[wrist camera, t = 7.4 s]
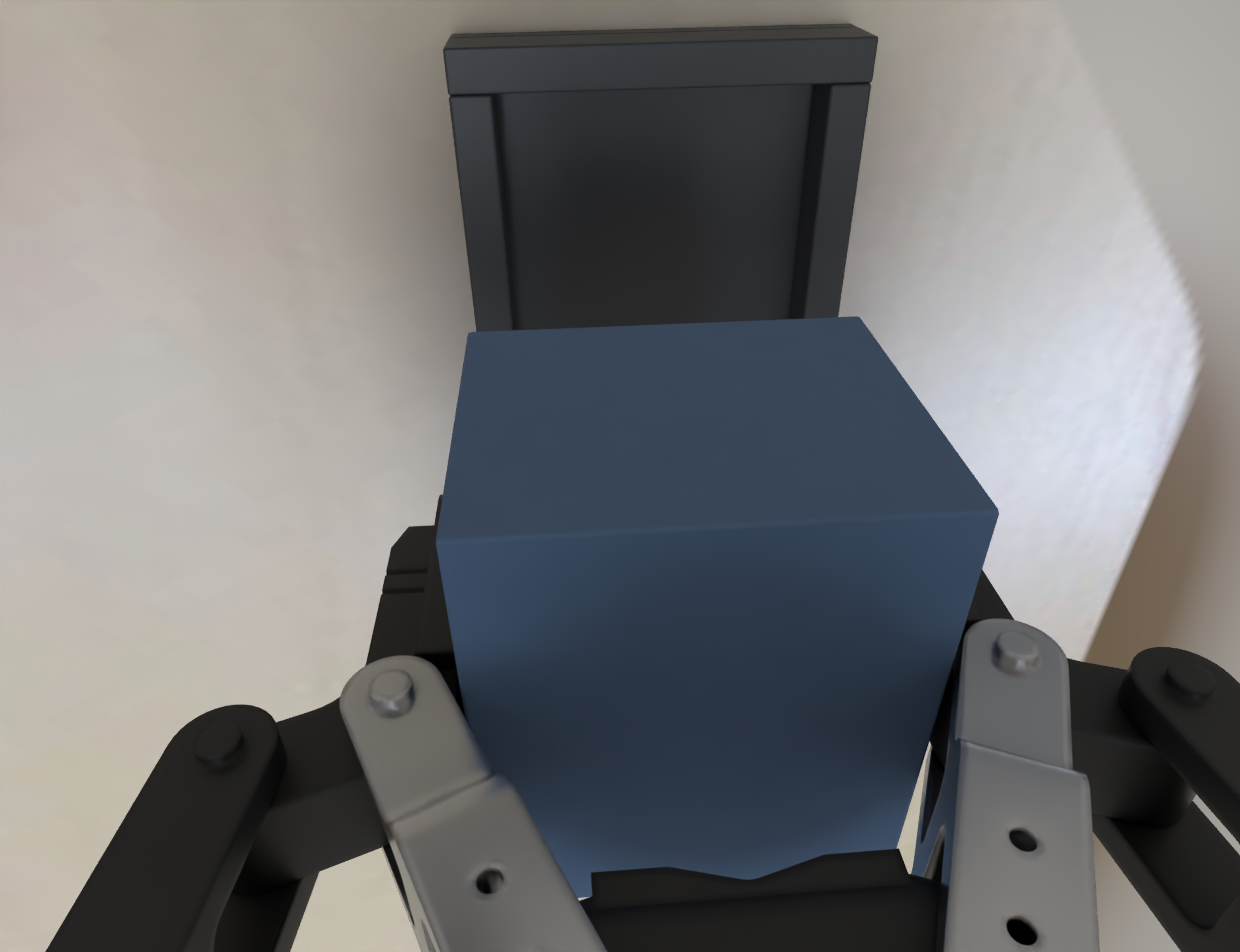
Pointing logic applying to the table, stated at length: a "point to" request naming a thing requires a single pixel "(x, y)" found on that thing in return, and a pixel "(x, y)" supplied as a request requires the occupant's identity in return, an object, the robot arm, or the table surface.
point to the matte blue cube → (704, 587)
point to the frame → (658, 172)
